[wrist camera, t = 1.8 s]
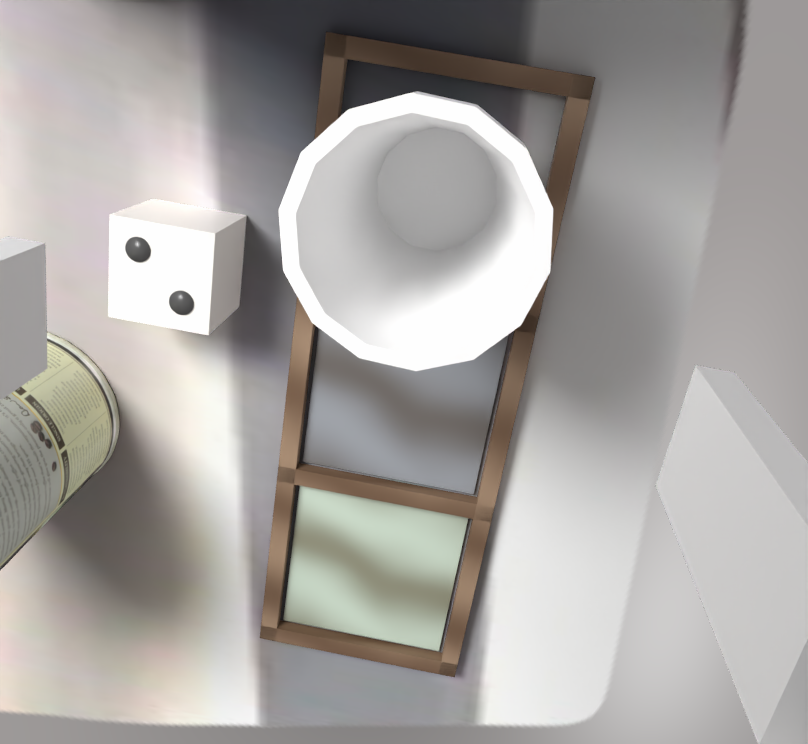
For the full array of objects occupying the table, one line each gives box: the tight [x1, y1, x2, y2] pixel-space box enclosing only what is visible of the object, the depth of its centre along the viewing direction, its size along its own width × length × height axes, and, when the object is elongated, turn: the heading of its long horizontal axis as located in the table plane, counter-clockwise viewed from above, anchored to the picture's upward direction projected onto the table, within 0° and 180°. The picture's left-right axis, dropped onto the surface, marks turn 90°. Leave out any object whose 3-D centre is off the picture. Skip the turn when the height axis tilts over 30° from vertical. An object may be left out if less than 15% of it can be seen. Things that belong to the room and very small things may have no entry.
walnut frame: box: [260, 32, 595, 677], centre depth 42 cm, size 36×12×1 cm, turn 171°
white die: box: [108, 199, 247, 335], centre depth 38 cm, size 5×5×5 cm
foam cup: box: [278, 91, 553, 371], centre depth 32 cm, size 10×9×13 cm
